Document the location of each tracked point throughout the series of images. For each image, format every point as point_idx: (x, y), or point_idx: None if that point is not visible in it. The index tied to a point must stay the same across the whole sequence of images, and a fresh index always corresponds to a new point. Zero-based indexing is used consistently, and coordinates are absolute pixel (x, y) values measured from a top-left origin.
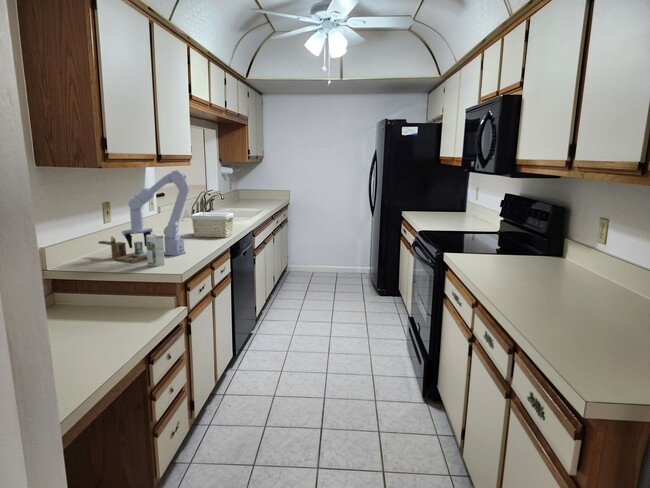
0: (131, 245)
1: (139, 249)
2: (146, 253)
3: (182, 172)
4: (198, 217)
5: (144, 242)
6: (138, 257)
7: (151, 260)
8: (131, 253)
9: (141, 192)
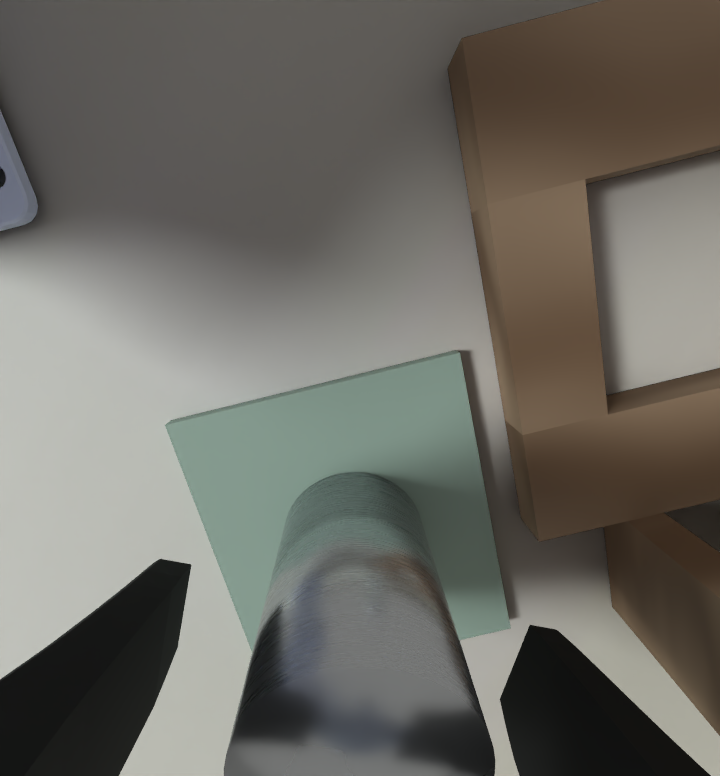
0: (596, 685)
1: (387, 529)
2: (254, 454)
3: None
4: None
5: (125, 757)
6: (669, 118)
7: None
8: None
9: None
